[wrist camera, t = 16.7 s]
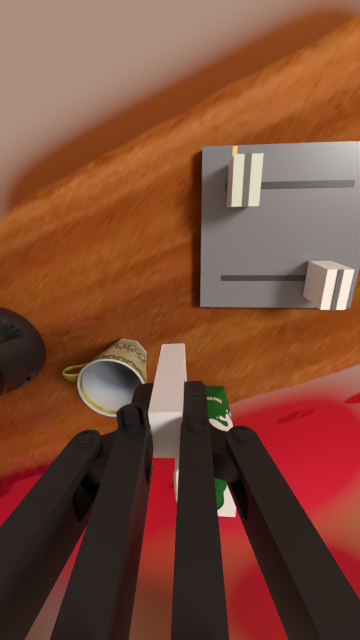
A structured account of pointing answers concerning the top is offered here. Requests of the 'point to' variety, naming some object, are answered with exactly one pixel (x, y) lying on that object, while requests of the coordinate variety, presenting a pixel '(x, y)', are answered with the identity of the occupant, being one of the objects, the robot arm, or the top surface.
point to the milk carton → (222, 421)
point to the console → (279, 223)
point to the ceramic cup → (111, 377)
